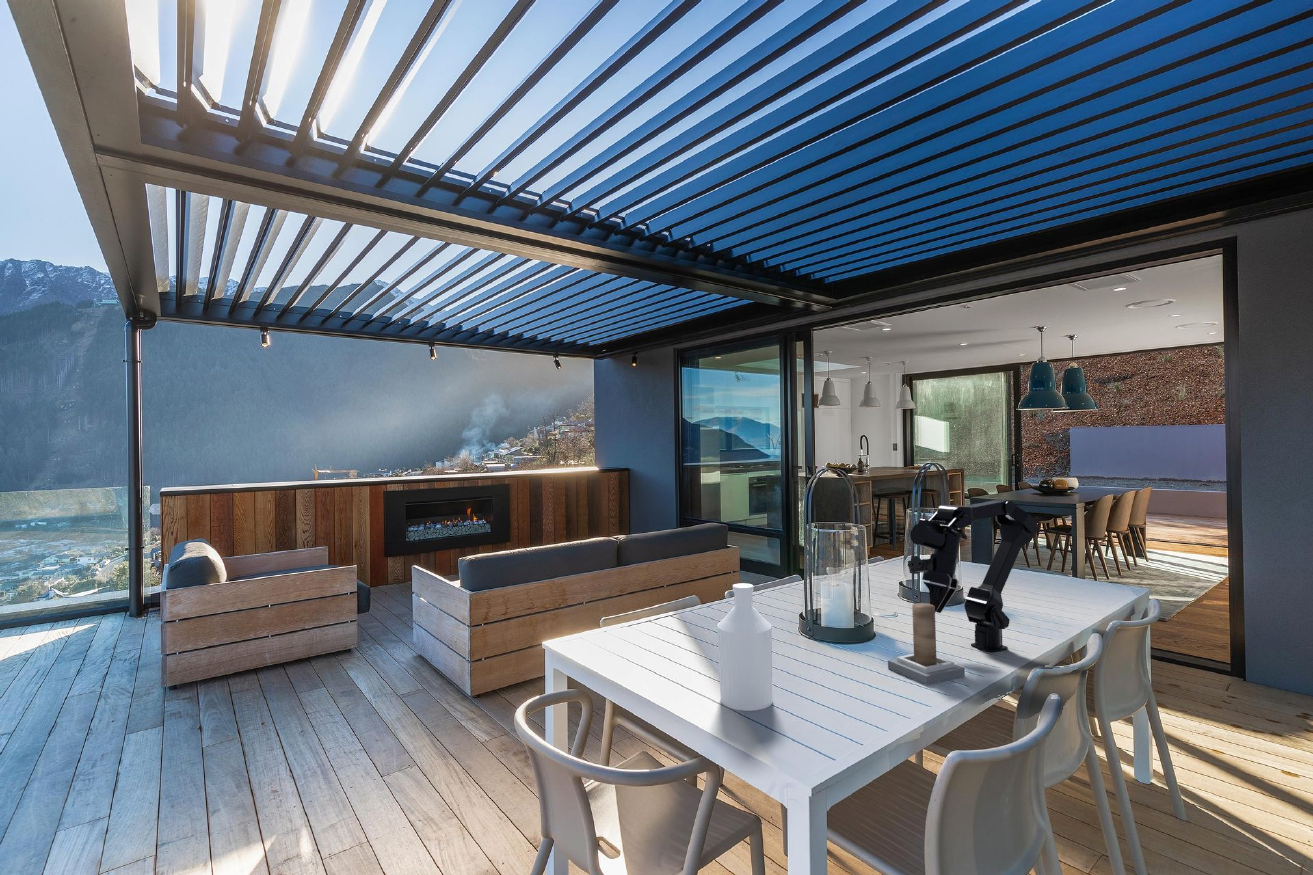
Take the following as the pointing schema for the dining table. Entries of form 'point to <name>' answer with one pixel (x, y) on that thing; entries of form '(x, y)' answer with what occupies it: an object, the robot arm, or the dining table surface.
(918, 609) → the post
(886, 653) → the dining table surface
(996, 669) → the dining table surface
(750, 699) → the bottle
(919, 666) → the base
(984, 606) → the robot arm
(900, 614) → the dining table surface
